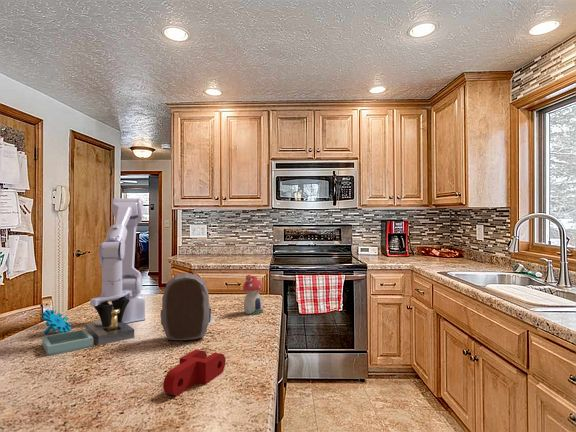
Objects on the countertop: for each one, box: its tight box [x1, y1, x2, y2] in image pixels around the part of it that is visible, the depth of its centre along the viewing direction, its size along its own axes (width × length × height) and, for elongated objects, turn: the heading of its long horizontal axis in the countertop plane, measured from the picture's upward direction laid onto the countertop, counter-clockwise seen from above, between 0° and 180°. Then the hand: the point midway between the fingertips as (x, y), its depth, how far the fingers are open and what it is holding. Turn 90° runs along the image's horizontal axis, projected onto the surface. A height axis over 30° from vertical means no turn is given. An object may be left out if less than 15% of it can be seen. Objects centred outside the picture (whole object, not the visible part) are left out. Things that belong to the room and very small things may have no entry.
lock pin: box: [107, 308, 120, 332], centre depth 113 cm, size 4×4×8 cm
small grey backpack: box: [160, 272, 213, 341], centre depth 112 cm, size 15×8×20 cm, turn 99°
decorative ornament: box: [242, 274, 264, 316], centre depth 141 cm, size 9×6×15 cm
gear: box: [41, 309, 72, 335], centre depth 117 cm, size 11×6×10 cm
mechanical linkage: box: [162, 349, 227, 397], centre depth 82 cm, size 16×7×5 cm, turn 157°
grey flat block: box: [85, 318, 135, 346], centre depth 115 cm, size 10×16×4 cm, turn 41°
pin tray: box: [41, 328, 94, 357], centre depth 105 cm, size 11×11×2 cm
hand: (112, 324), depth 113 cm, fingers closed on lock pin, 4 cm apart
